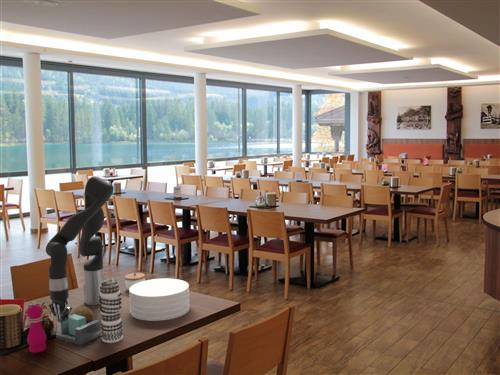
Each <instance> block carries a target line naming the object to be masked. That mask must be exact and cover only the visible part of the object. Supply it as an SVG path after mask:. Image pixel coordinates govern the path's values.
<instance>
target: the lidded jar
mask: <svg viewBox="0 0 500 375" xmlns="http://www.w3.org/2000/svg"><path fill="white" fill-rule="evenodd" d="M142 281H146V274H145V273H142V272H135V271H134V272H132V273H128V274H125V276H124V282H125V286H126V289H128V290H129V288H130V287H131V286H132V285H134V284H136V283H139V282H142Z"/></svg>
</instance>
